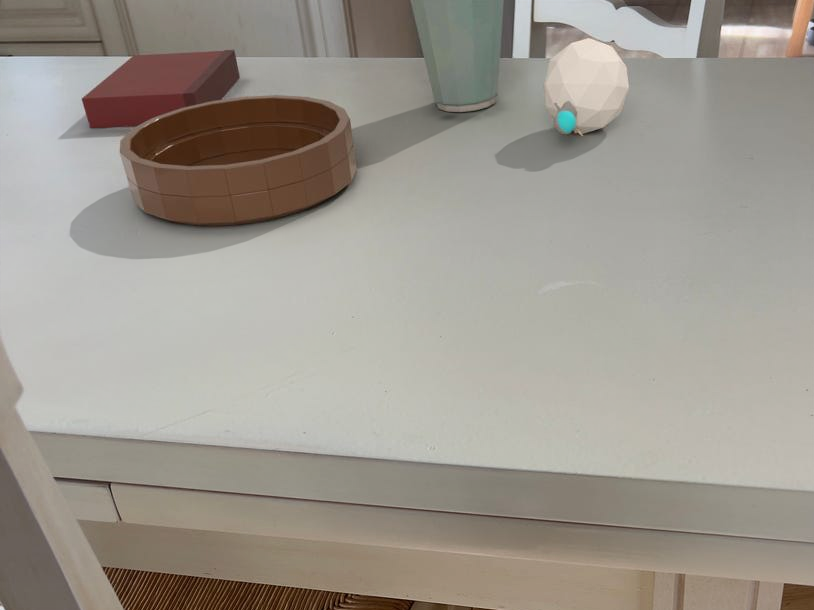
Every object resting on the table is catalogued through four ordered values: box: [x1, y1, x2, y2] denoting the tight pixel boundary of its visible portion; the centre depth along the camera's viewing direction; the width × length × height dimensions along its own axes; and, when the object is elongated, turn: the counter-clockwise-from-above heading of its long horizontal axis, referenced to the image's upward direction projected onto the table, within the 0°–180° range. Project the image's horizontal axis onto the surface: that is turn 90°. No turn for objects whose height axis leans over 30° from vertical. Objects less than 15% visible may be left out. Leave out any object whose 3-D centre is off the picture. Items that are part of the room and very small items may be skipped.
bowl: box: [119, 94, 358, 227], centre depth 90 cm, size 20×20×5 cm
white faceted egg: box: [542, 37, 630, 137], centre depth 94 cm, size 8×8×12 cm
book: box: [81, 49, 241, 129], centre depth 113 cm, size 12×17×3 cm
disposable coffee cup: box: [410, 0, 505, 113], centre depth 102 cm, size 11×11×15 cm
